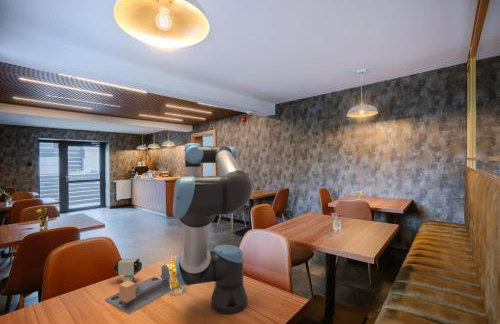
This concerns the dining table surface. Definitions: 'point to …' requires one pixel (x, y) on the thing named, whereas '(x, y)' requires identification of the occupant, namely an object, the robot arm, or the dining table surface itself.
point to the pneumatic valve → (128, 268)
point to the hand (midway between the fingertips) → (193, 225)
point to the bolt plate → (143, 301)
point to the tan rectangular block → (127, 291)
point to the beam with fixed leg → (147, 291)
